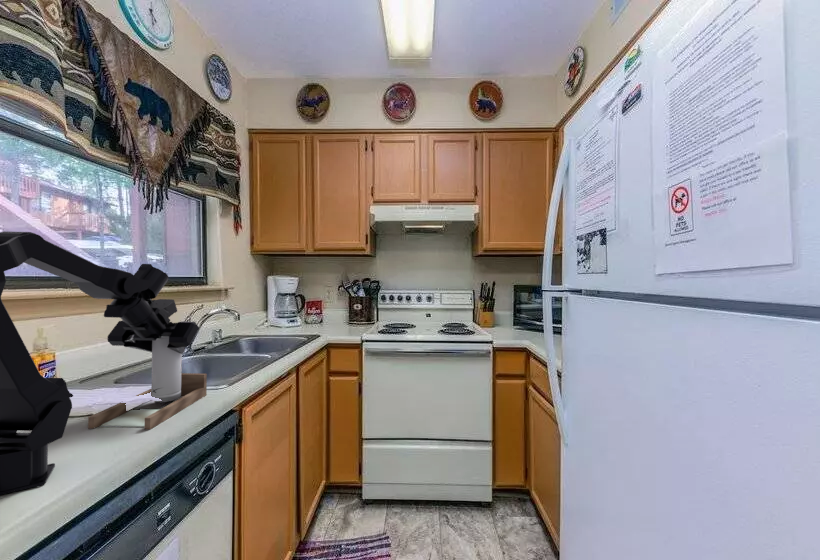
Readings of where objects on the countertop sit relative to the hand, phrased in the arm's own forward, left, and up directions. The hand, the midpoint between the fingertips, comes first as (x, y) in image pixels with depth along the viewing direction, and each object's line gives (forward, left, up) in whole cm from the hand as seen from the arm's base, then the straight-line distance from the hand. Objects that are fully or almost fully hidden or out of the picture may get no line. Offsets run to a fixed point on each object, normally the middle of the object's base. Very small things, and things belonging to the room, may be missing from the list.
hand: (170, 352), depth 88 cm
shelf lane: (-5, +3, -13) cm, 14 cm away
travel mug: (-1, +1, -12) cm, 12 cm away
